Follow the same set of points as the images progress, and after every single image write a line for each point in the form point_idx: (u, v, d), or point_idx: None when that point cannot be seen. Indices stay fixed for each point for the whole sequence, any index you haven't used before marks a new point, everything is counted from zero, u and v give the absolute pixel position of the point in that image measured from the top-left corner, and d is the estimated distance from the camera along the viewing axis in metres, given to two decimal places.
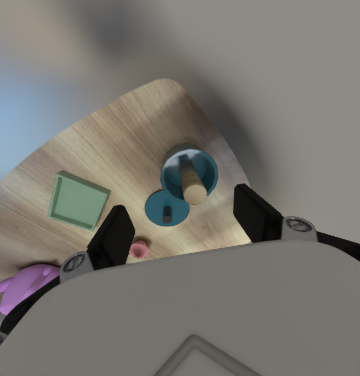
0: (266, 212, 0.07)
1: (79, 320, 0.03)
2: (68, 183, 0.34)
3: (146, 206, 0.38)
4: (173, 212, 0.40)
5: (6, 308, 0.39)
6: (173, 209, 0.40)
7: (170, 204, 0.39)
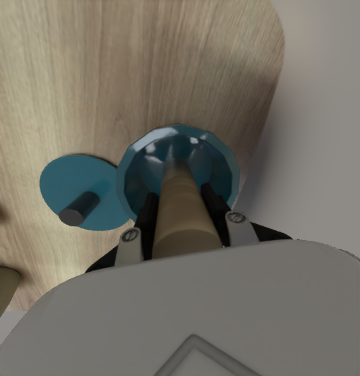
0: (215, 207, 0.08)
1: (79, 320, 0.03)
2: None
3: (55, 163, 0.17)
4: (97, 209, 0.21)
5: None
6: (101, 205, 0.21)
7: (104, 195, 0.20)
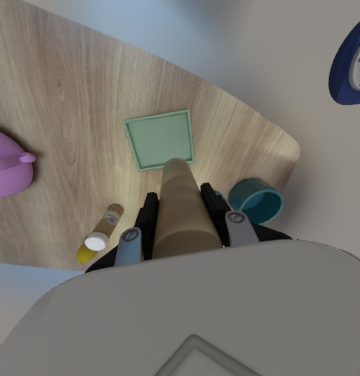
0: (214, 207, 0.08)
1: (79, 320, 0.03)
2: (178, 121, 0.31)
3: None
4: None
5: None
6: None
7: None
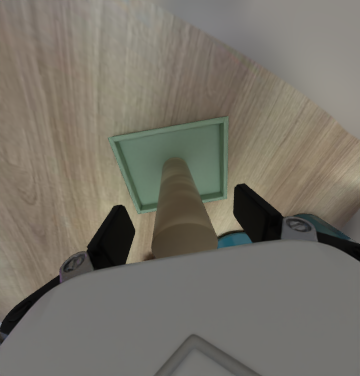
0: (266, 212, 0.07)
1: (79, 320, 0.03)
2: (205, 137, 0.18)
3: (227, 238, 0.27)
4: None
5: None
6: None
7: None
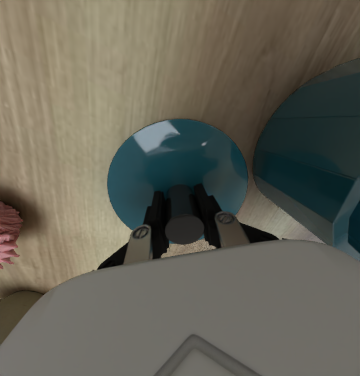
0: (205, 208, 0.08)
1: (79, 320, 0.03)
2: None
3: (145, 134, 0.10)
4: None
5: None
6: None
7: None
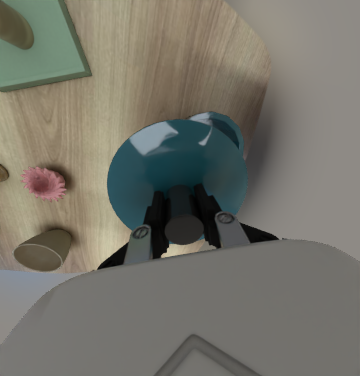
0: (205, 207, 0.08)
1: (79, 320, 0.03)
2: None
3: (144, 134, 0.10)
4: None
5: None
6: None
7: None
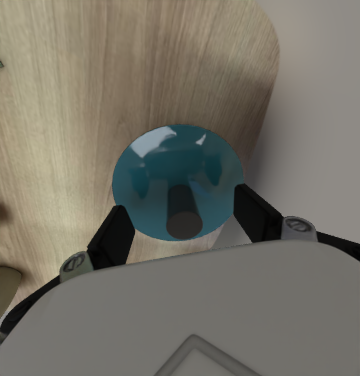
0: (266, 212, 0.07)
1: (79, 320, 0.03)
2: None
3: (148, 137, 0.11)
4: None
5: None
6: None
7: (200, 191, 0.13)
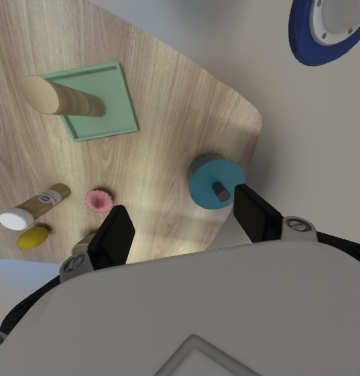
0: (266, 212, 0.07)
1: (79, 320, 0.03)
2: (111, 80, 0.26)
3: (208, 164, 0.28)
4: None
5: None
6: None
7: (226, 184, 0.31)
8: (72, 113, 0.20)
